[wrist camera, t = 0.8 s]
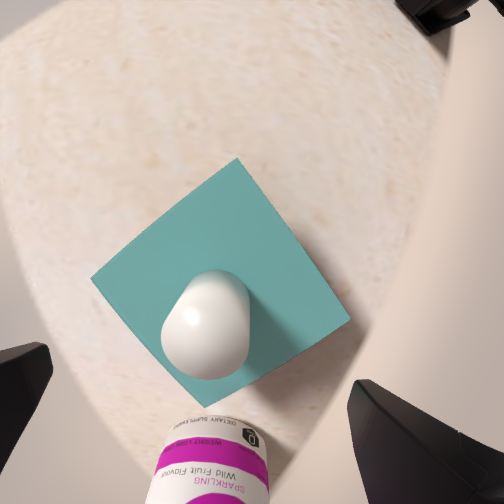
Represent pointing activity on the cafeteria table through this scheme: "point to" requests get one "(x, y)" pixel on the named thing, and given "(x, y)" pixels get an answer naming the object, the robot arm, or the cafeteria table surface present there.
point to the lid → (220, 288)
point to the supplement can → (211, 464)
